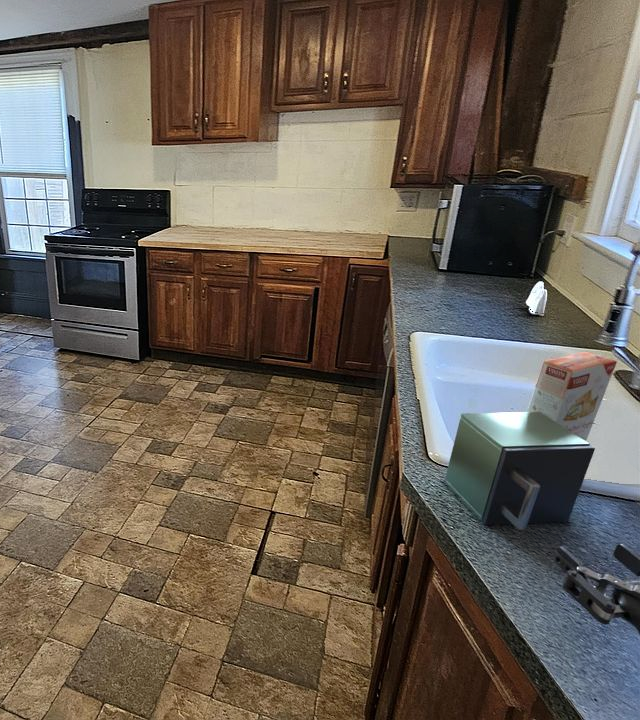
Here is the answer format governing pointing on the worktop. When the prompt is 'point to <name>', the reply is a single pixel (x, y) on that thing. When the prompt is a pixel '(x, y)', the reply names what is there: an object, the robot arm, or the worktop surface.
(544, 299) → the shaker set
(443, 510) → the worktop surface
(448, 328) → the worktop surface
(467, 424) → the dark green box
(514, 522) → the door
